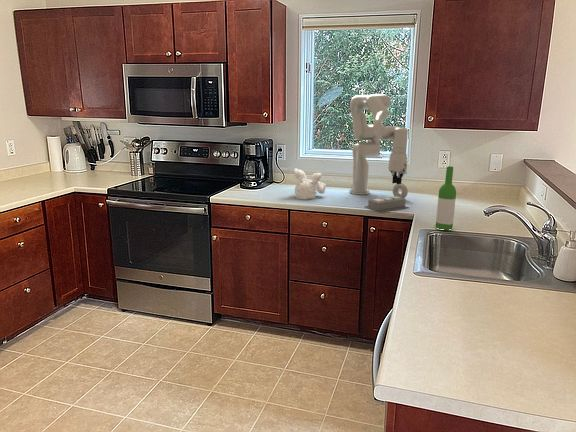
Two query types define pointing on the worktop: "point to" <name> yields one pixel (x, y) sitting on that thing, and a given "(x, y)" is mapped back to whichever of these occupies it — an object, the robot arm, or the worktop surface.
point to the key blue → (387, 199)
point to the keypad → (387, 205)
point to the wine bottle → (446, 202)
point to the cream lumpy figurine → (308, 185)
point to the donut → (402, 187)
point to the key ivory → (378, 200)
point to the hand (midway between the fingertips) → (396, 183)
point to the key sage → (395, 197)
